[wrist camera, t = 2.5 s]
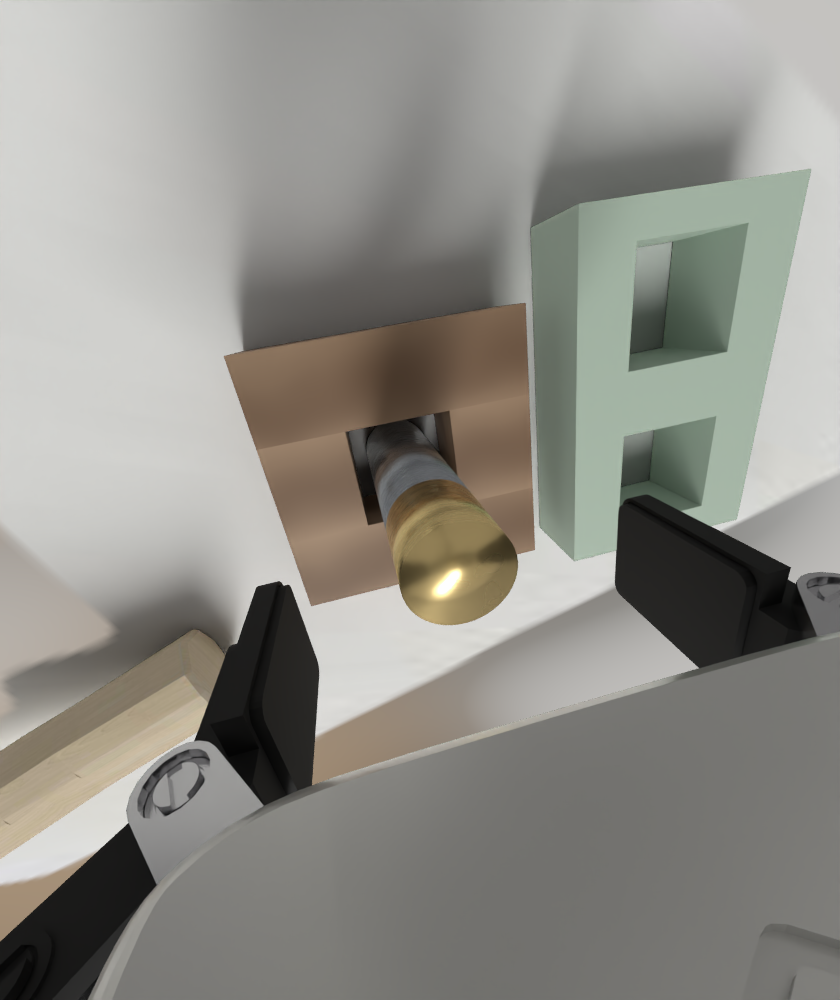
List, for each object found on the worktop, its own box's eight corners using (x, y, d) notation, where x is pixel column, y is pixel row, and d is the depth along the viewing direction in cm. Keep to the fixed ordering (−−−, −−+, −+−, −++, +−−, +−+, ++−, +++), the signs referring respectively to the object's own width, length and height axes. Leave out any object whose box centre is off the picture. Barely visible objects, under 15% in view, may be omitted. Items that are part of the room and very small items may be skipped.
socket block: (243, 351, 18) (223, 356, 15) (494, 306, 19) (525, 302, 16) (314, 567, 23) (311, 606, 20) (508, 520, 24) (534, 549, 21)
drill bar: (360, 425, 20) (389, 538, 9) (420, 413, 21) (514, 508, 10) (373, 482, 22) (411, 637, 11) (429, 470, 22) (520, 608, 11)
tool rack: (530, 227, 18) (579, 203, 15) (722, 198, 19) (811, 168, 16) (539, 527, 25) (574, 561, 21) (681, 492, 26) (736, 519, 22)
